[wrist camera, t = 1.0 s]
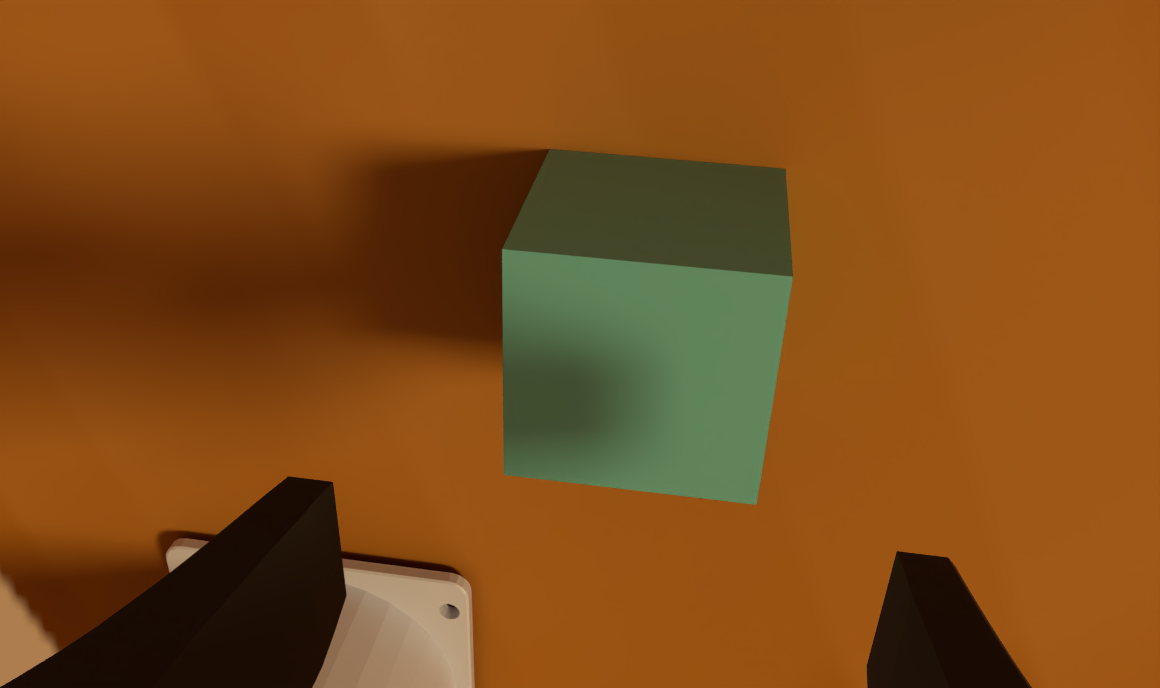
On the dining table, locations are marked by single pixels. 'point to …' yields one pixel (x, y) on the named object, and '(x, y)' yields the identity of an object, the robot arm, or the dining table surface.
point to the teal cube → (645, 323)
